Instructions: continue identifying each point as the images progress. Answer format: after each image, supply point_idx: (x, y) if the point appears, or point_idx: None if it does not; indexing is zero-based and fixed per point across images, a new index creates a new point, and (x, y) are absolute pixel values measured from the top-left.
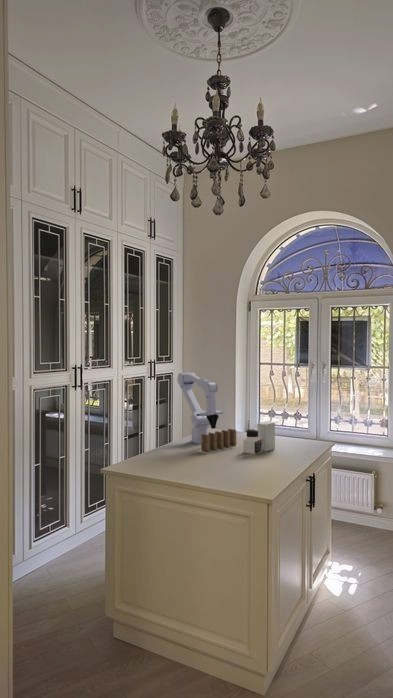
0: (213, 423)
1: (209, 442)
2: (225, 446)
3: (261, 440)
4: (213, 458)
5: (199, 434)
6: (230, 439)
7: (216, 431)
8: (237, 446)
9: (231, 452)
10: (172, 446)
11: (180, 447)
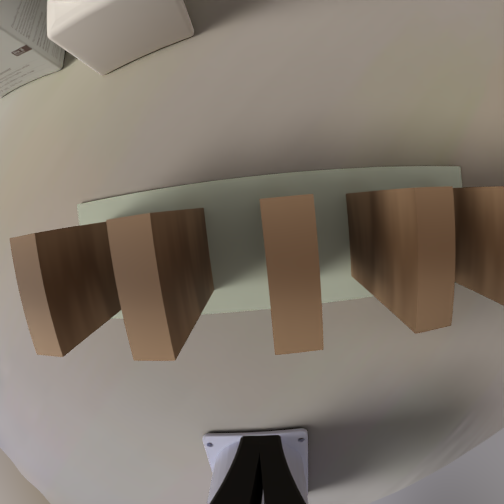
0: (293, 493)
1: (467, 188)
2: (206, 240)
3: (32, 8)
4: (461, 66)
5: (301, 493)
6: (110, 277)
7: (308, 332)
8: (109, 200)
9: (267, 84)
10: (451, 444)
11: (446, 415)
